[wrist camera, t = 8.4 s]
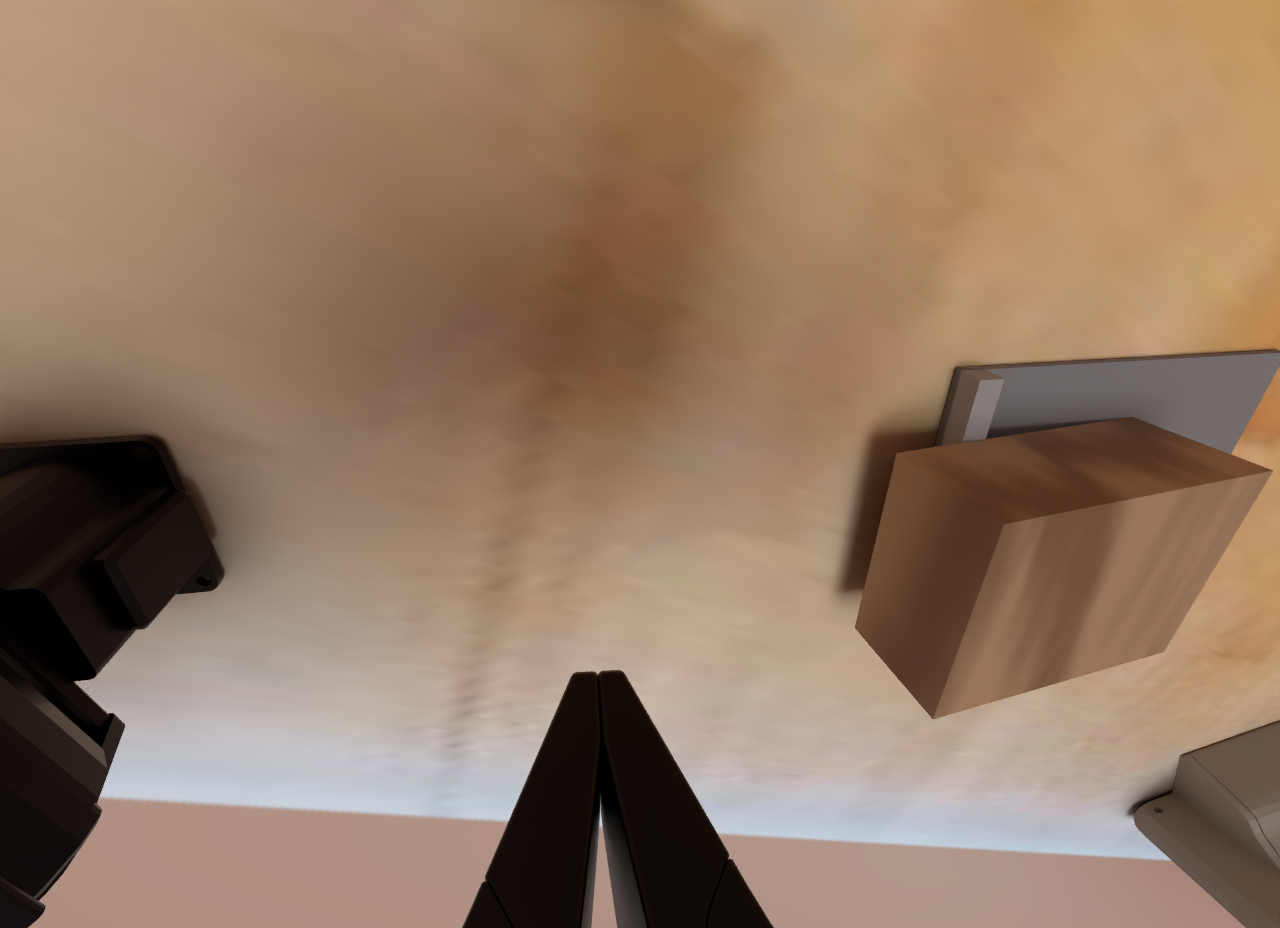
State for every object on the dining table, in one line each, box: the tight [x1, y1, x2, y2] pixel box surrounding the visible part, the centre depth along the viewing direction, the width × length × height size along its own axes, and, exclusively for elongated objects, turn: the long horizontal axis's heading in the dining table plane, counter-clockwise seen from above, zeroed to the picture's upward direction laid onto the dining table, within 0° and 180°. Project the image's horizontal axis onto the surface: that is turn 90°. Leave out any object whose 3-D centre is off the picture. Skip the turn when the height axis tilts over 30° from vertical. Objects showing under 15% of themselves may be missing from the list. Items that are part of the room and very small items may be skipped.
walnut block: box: [855, 417, 1273, 719], centre depth 23 cm, size 5×9×12 cm
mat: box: [934, 350, 1280, 454], centre depth 26 cm, size 15×14×2 cm
